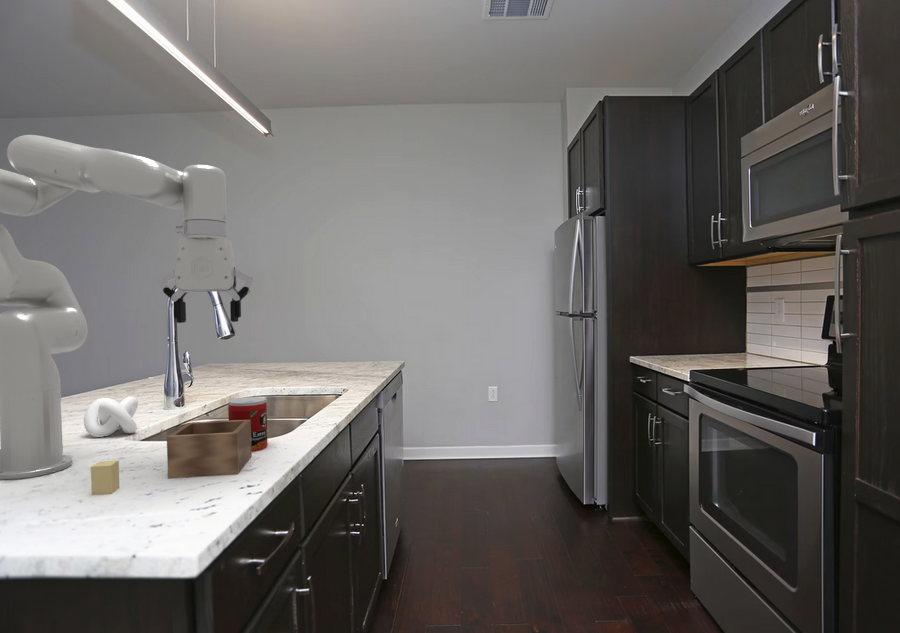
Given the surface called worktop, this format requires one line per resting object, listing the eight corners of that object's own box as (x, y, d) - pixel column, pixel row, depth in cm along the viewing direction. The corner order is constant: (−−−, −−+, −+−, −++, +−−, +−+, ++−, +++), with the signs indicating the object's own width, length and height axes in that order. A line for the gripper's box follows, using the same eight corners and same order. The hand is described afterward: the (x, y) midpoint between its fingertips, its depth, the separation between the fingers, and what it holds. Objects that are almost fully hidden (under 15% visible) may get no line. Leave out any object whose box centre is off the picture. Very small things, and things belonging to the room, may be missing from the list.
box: (167, 481, 96) (166, 436, 96) (189, 462, 108) (188, 422, 108) (238, 476, 98) (236, 433, 98) (251, 458, 110) (250, 419, 110)
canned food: (255, 455, 112) (254, 403, 112) (221, 454, 114) (220, 402, 113) (274, 446, 120) (273, 397, 119) (242, 444, 121) (241, 396, 121)
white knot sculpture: (110, 428, 141) (109, 394, 141) (154, 428, 140) (153, 394, 140) (77, 439, 130) (76, 402, 129) (124, 439, 129) (122, 401, 128)
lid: (43, 515, 83) (42, 477, 83) (84, 488, 95) (83, 455, 95) (130, 508, 85) (129, 472, 85) (159, 483, 97) (158, 451, 97)
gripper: (149, 229, 97) (152, 323, 98) (249, 230, 100) (251, 321, 100) (164, 234, 105) (167, 322, 105) (257, 235, 107) (259, 320, 108)
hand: (208, 322), depth 103 cm, fingers open, 9 cm apart
